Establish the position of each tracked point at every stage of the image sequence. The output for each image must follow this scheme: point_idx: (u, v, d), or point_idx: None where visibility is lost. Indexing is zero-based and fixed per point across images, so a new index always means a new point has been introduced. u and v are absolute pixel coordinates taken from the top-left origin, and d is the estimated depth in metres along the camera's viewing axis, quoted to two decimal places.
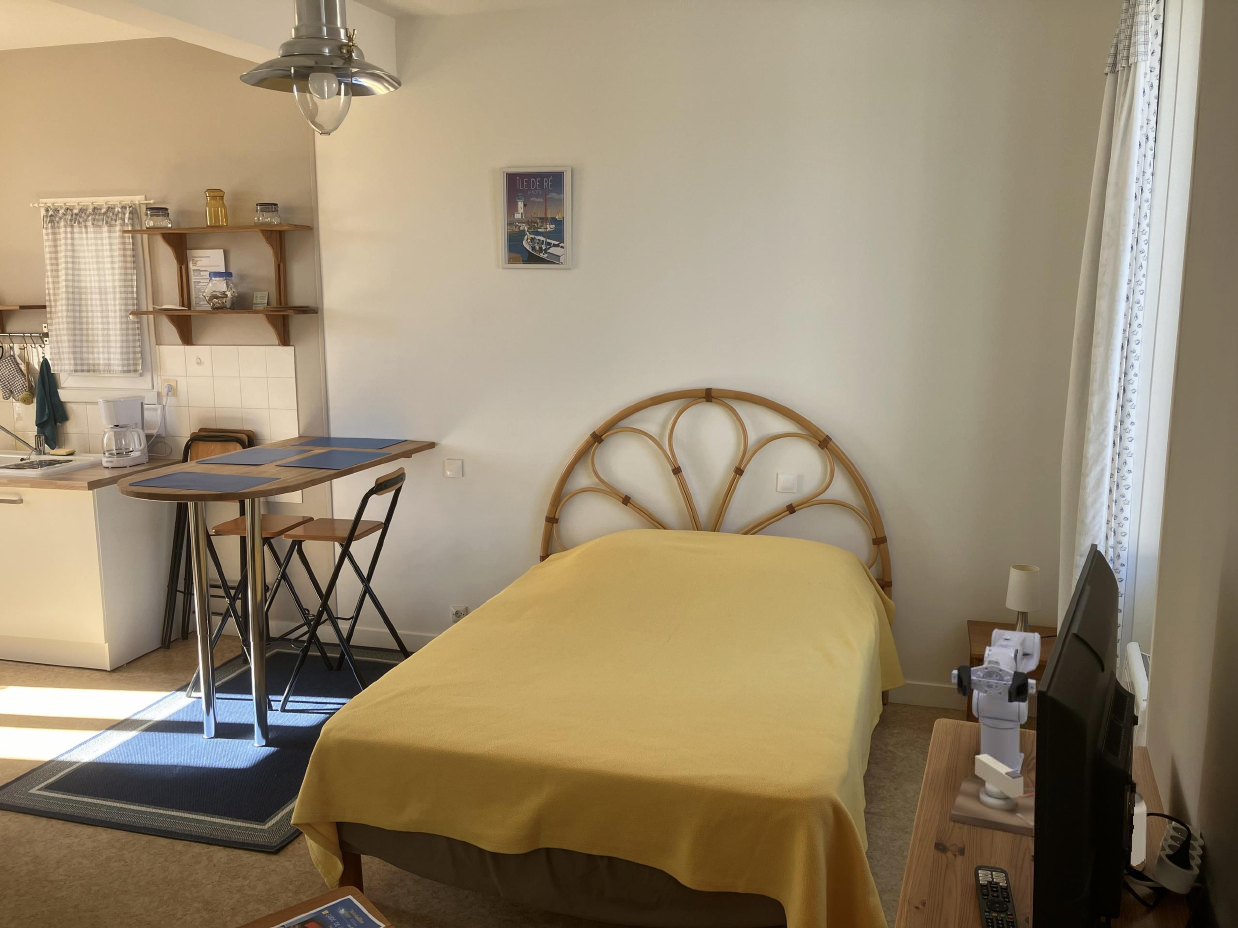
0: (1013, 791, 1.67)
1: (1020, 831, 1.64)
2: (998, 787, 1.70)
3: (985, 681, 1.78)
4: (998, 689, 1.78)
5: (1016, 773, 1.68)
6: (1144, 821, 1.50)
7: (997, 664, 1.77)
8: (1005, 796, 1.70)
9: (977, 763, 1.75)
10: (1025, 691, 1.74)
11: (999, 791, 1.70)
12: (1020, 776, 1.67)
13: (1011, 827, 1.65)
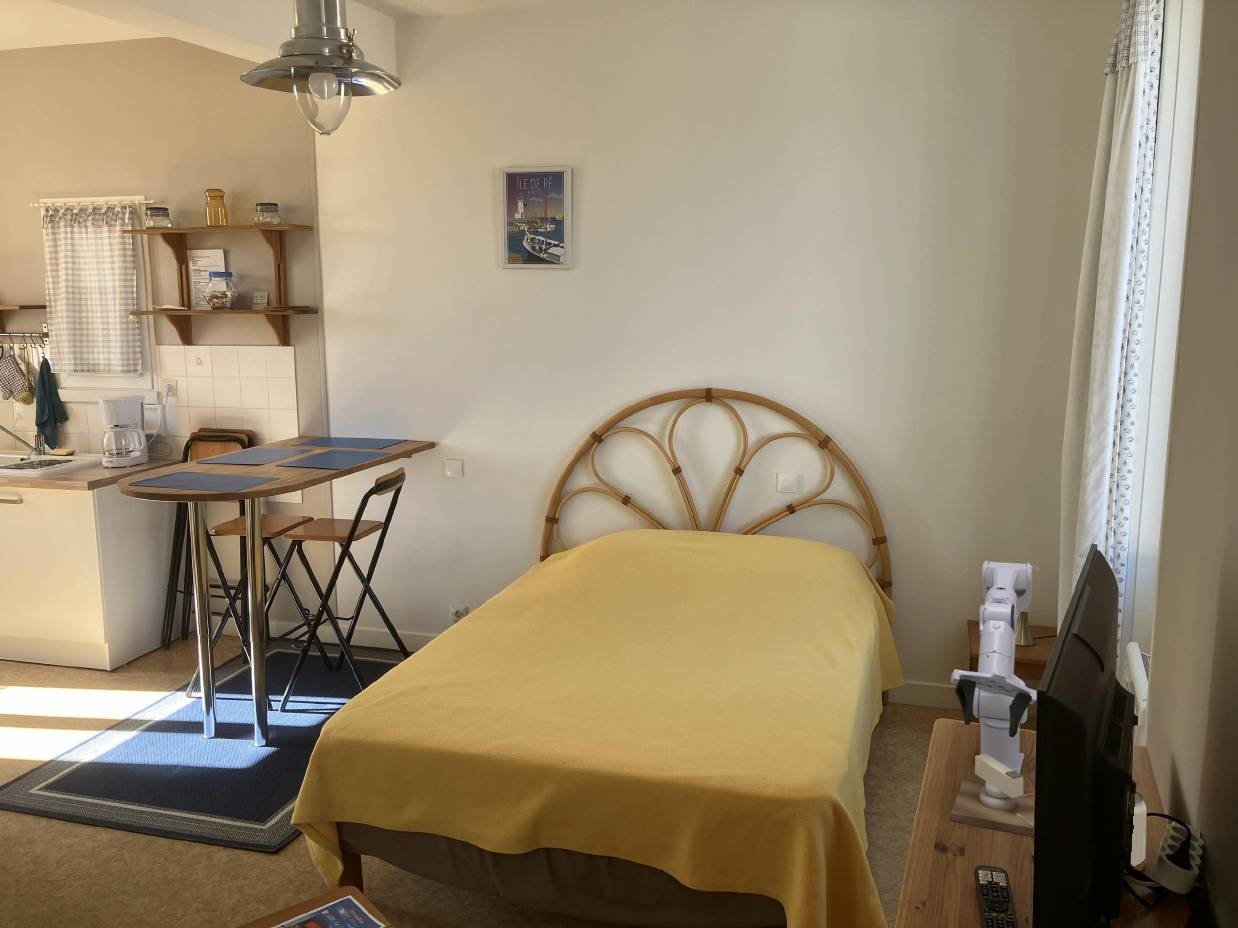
0: (1013, 791, 1.67)
1: (1020, 831, 1.64)
2: (998, 787, 1.70)
3: (986, 689, 1.72)
4: (996, 689, 1.74)
5: (1016, 773, 1.68)
6: (1144, 821, 1.50)
7: (1003, 678, 1.70)
8: (1005, 796, 1.70)
9: (977, 763, 1.75)
10: None
11: (999, 791, 1.70)
12: (1020, 776, 1.67)
13: (1011, 827, 1.65)
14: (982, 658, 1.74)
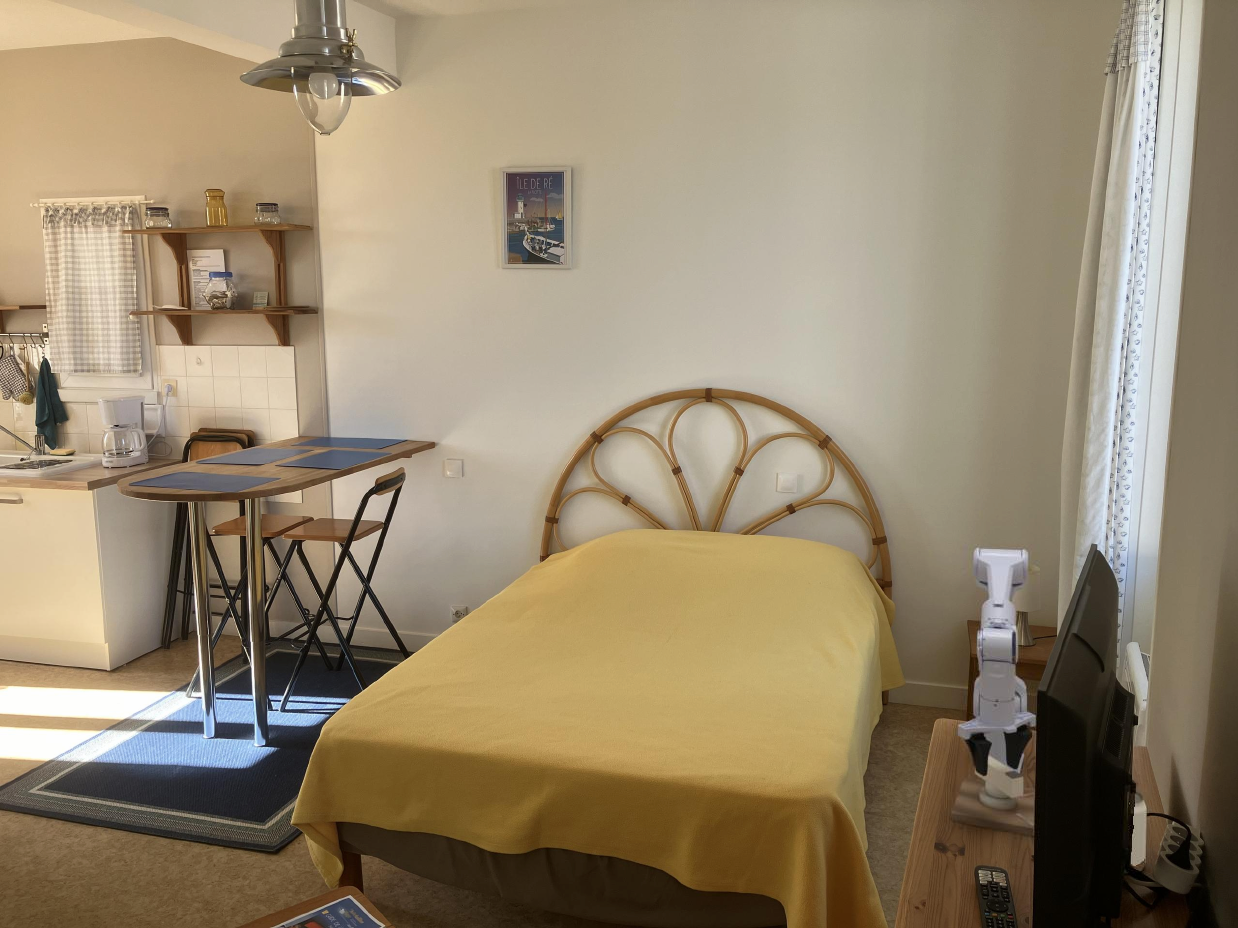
0: (1013, 791, 1.67)
1: (1020, 831, 1.64)
2: (998, 787, 1.70)
3: None
4: None
5: (1016, 773, 1.68)
6: (1144, 821, 1.50)
7: None
8: (1005, 796, 1.70)
9: None
10: None
11: (999, 791, 1.70)
12: (1020, 776, 1.67)
13: (1011, 827, 1.65)
14: (988, 705, 1.63)
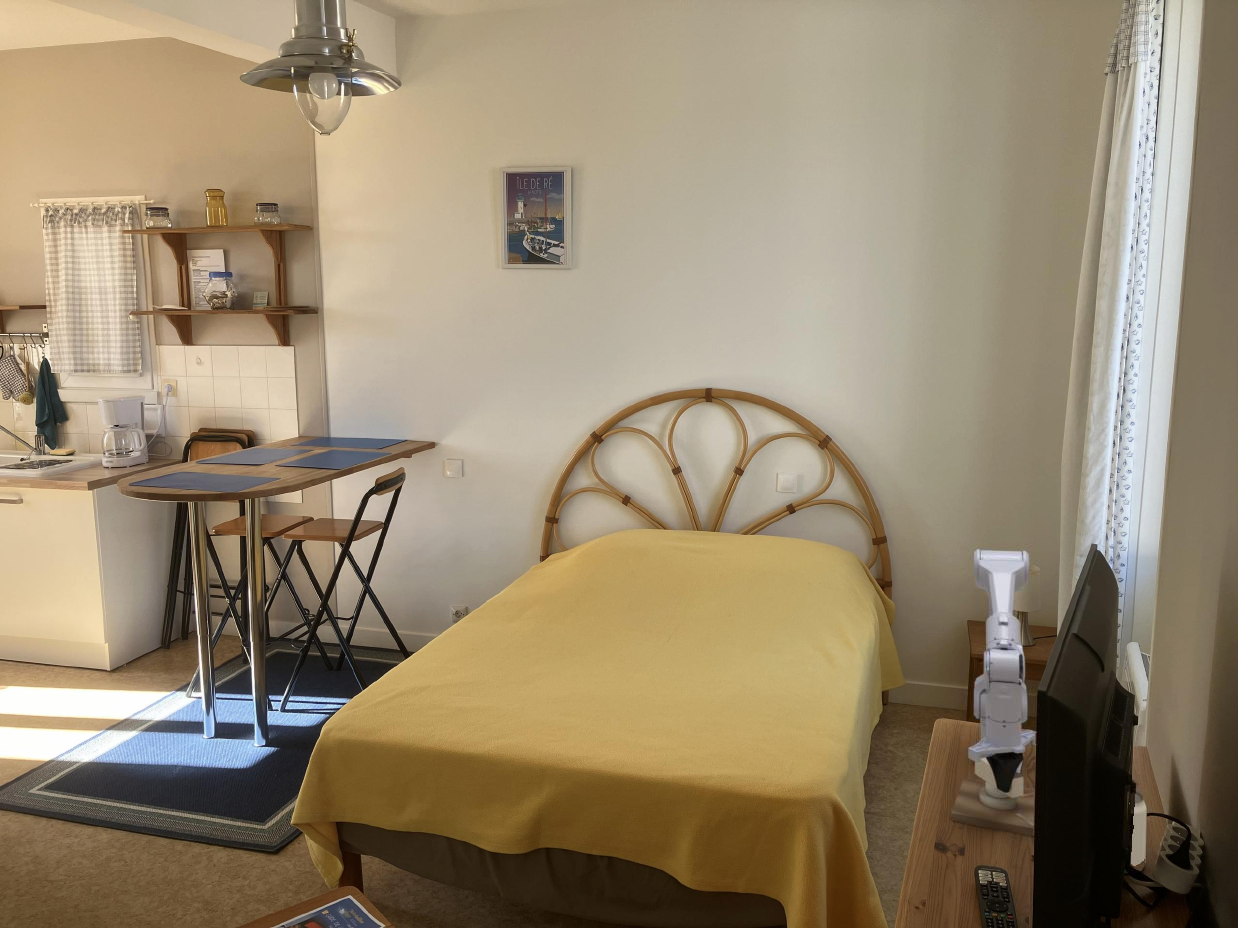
0: (1013, 791, 1.67)
1: (1020, 831, 1.64)
2: None
3: None
4: None
5: (1016, 773, 1.68)
6: (1144, 821, 1.50)
7: None
8: (1005, 796, 1.70)
9: (977, 763, 1.75)
10: None
11: (999, 791, 1.70)
12: (1020, 776, 1.67)
13: (1011, 827, 1.65)
14: (997, 726, 1.64)
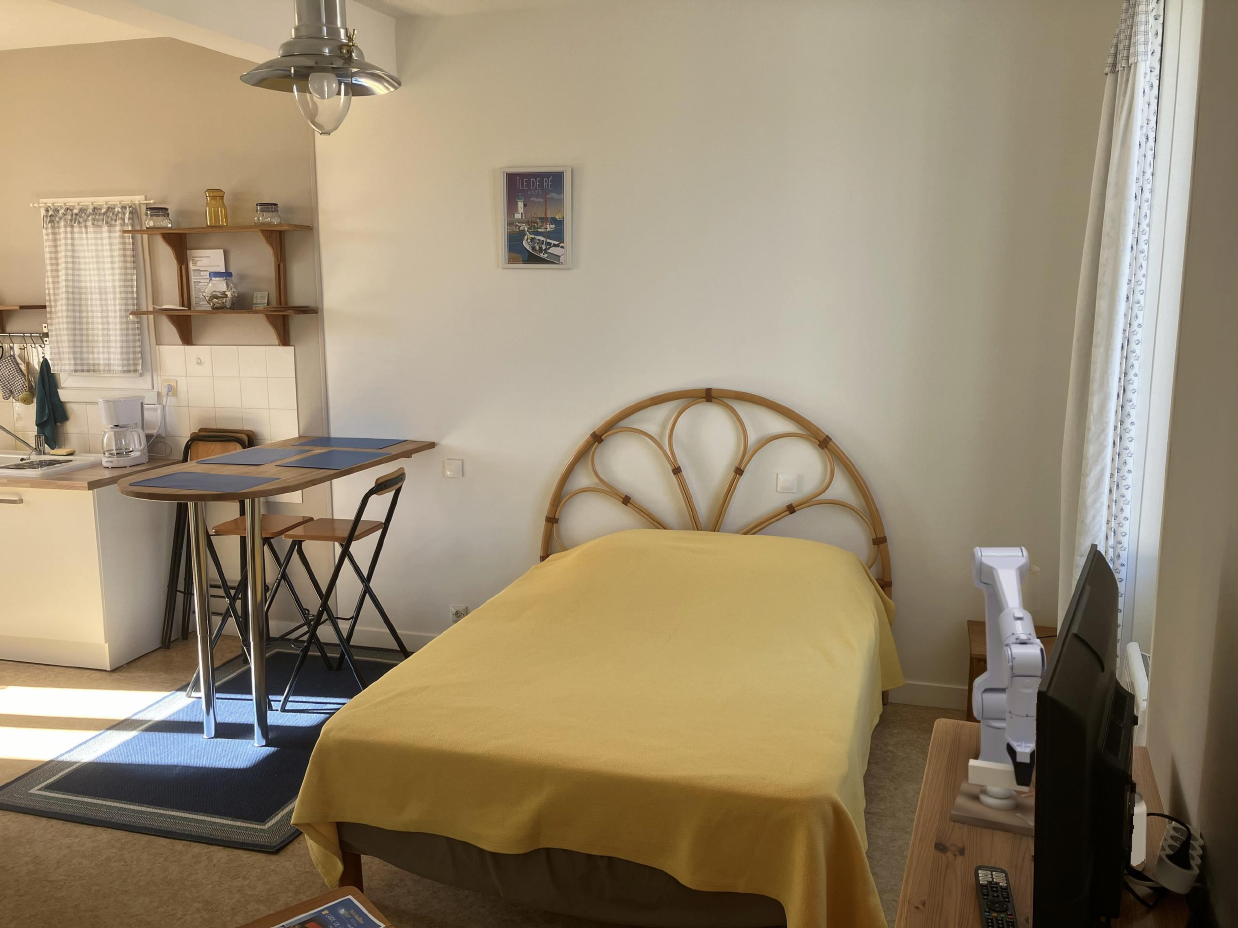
0: None
1: (1020, 831, 1.64)
2: (1007, 786, 1.70)
3: None
4: None
5: None
6: (1144, 821, 1.50)
7: None
8: (1011, 793, 1.71)
9: (972, 771, 1.72)
10: None
11: (1008, 790, 1.70)
12: None
13: (1011, 827, 1.65)
14: (1030, 721, 1.64)
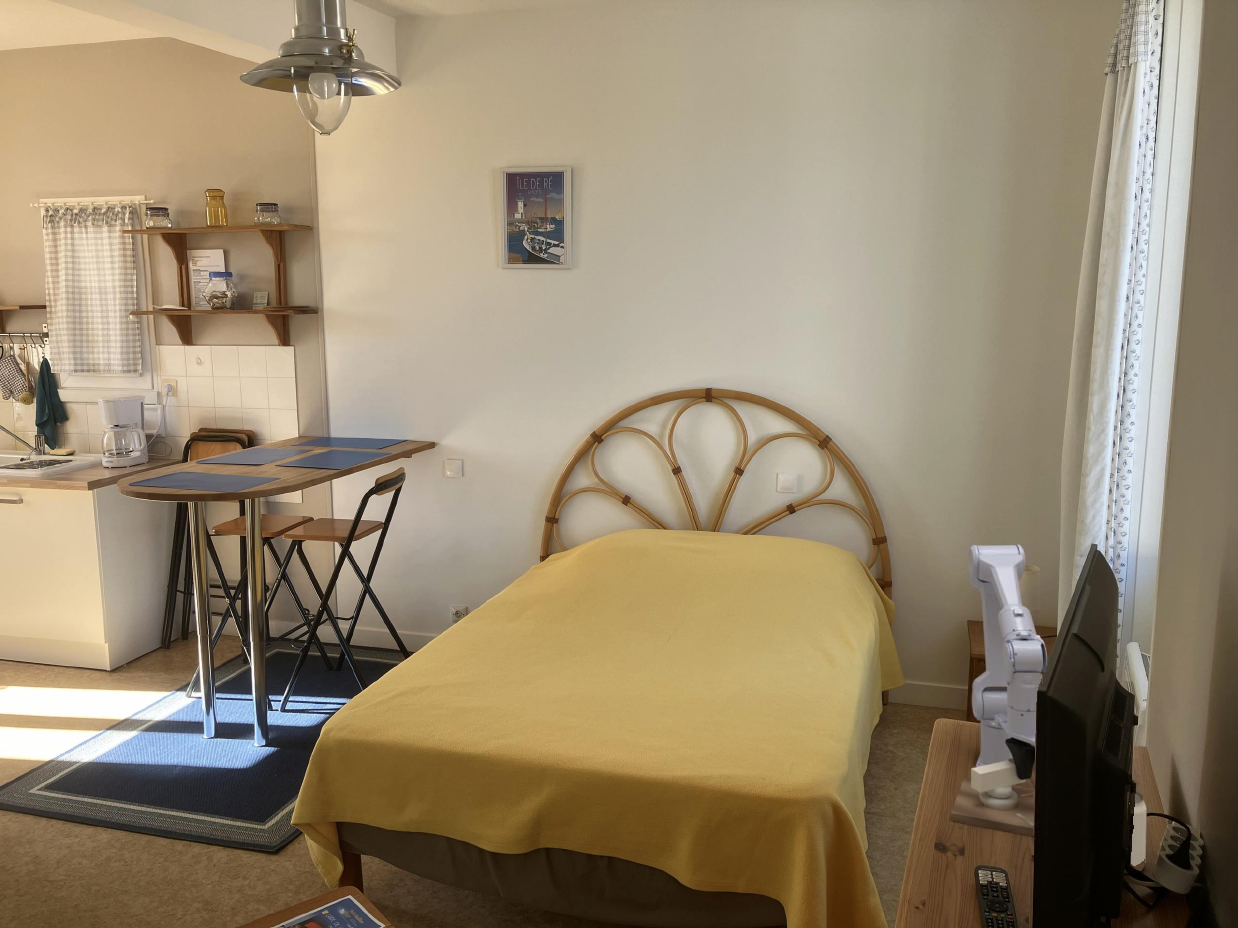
0: None
1: (1020, 831, 1.64)
2: (1010, 783, 1.71)
3: None
4: None
5: None
6: (1144, 821, 1.50)
7: None
8: None
9: (983, 779, 1.69)
10: None
11: (1011, 786, 1.71)
12: None
13: (1011, 827, 1.65)
14: None
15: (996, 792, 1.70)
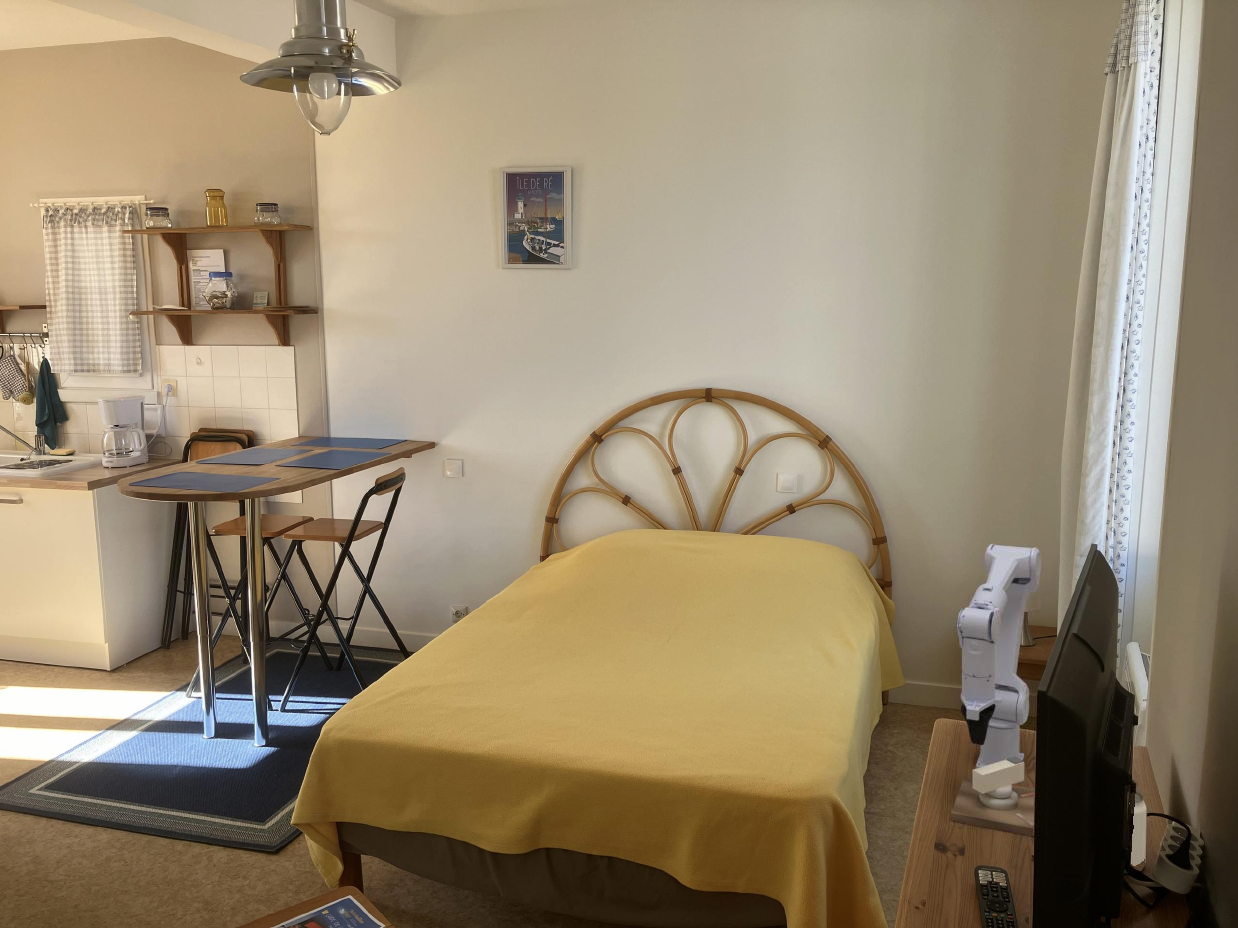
0: None
1: (1020, 831, 1.64)
2: (1010, 783, 1.71)
3: None
4: None
5: (1013, 758, 1.74)
6: (1144, 821, 1.50)
7: None
8: None
9: (985, 780, 1.69)
10: None
11: None
12: (1016, 757, 1.74)
13: (1011, 827, 1.65)
14: (982, 682, 1.72)
15: (997, 792, 1.70)
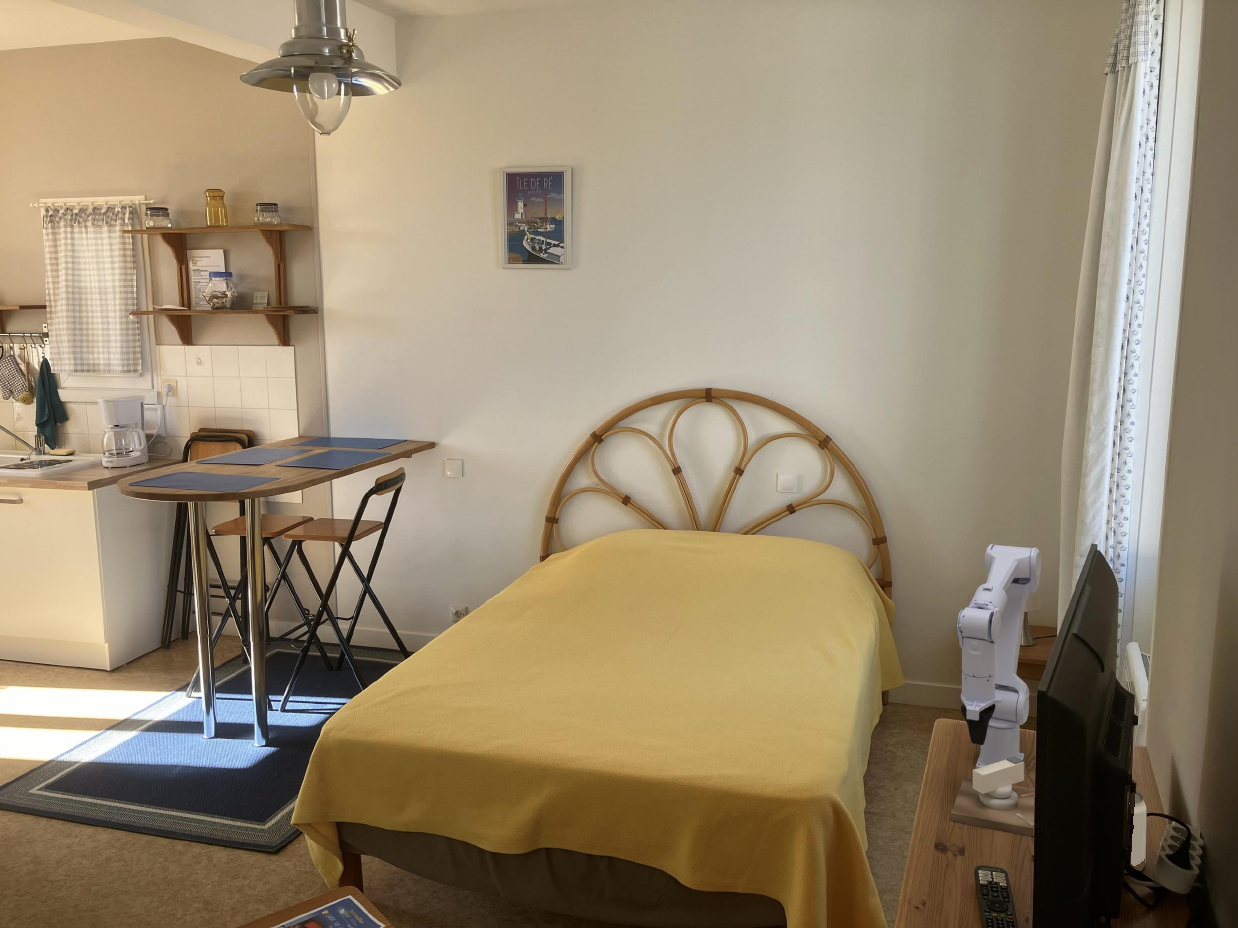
0: None
1: (1020, 831, 1.64)
2: (1010, 783, 1.71)
3: None
4: None
5: (1012, 758, 1.74)
6: (1144, 821, 1.50)
7: None
8: None
9: (985, 780, 1.69)
10: None
11: None
12: (1016, 757, 1.74)
13: (1011, 827, 1.65)
14: (982, 682, 1.72)
15: (997, 792, 1.70)
